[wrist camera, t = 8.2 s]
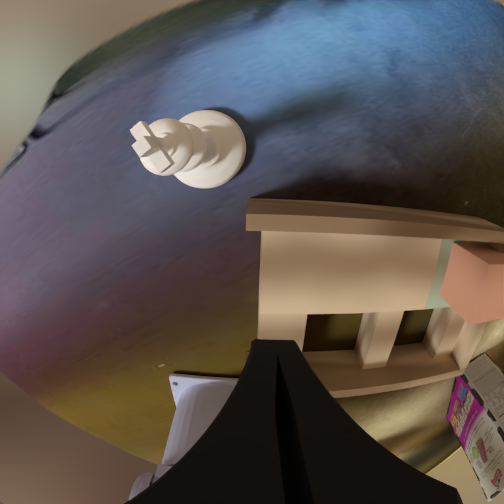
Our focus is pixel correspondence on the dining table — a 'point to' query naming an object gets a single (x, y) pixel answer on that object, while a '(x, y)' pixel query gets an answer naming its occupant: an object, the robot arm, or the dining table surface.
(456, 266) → the terracotta block
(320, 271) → the tray
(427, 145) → the dining table surface
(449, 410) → the candy bar box
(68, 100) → the dining table surface
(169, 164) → the chess piece
